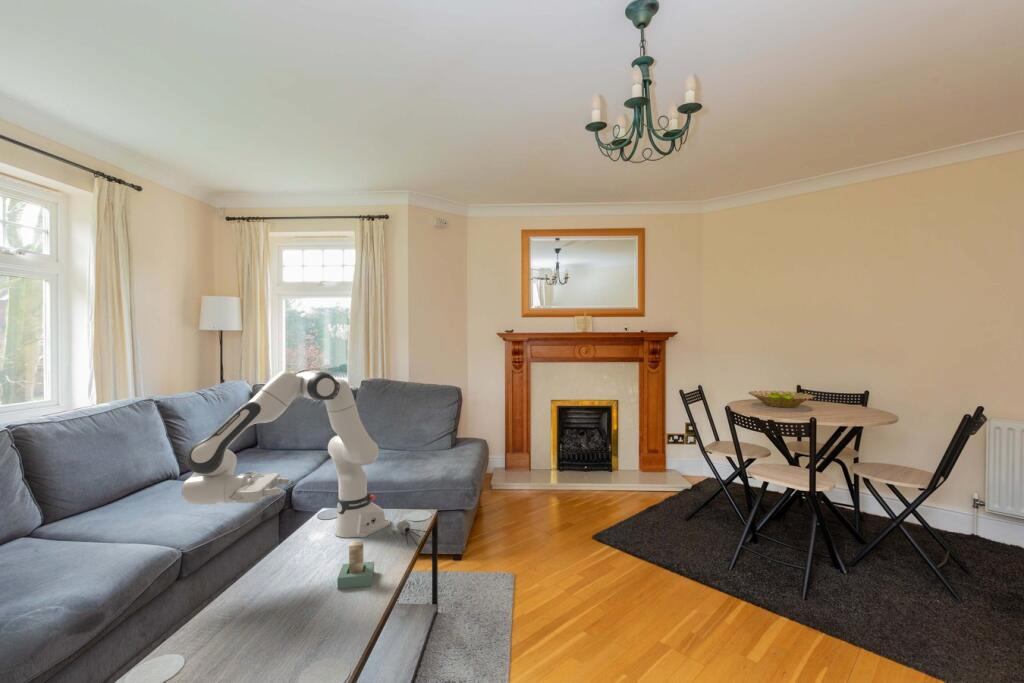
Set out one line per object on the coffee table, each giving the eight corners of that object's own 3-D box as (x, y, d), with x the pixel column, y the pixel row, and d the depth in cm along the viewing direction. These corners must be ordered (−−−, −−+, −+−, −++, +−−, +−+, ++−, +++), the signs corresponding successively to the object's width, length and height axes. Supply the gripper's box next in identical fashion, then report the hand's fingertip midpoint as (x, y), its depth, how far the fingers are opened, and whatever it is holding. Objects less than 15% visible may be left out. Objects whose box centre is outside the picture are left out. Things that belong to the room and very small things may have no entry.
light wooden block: (349, 583, 144) (349, 546, 144) (350, 578, 147) (350, 542, 147) (362, 582, 144) (362, 545, 144) (363, 577, 147) (363, 541, 147)
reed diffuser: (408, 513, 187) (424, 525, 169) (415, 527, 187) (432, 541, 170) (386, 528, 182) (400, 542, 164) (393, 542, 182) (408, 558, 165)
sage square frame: (337, 589, 140) (337, 578, 140) (342, 574, 149) (342, 564, 149) (370, 585, 142) (370, 575, 142) (373, 571, 151) (373, 561, 151)
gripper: (225, 489, 135) (274, 486, 138) (252, 470, 155) (294, 468, 158) (225, 509, 135) (274, 506, 138) (252, 488, 155) (294, 485, 158)
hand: (285, 486), depth 148 cm, fingers open, 8 cm apart
